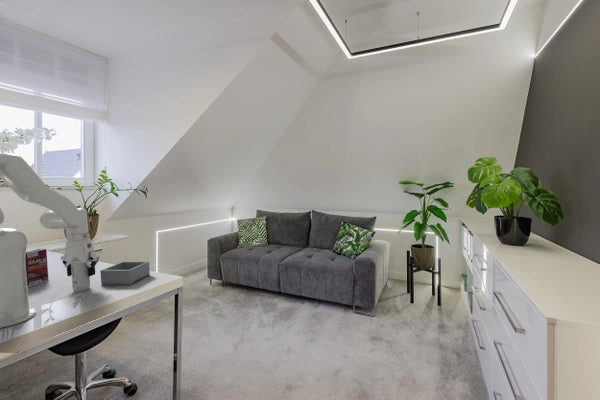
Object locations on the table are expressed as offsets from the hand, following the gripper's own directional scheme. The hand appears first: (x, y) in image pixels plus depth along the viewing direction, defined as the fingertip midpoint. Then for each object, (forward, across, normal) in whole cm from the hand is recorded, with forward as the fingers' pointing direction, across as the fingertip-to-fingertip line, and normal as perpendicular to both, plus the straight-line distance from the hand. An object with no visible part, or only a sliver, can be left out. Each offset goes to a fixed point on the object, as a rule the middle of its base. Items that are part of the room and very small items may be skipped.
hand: (81, 275), depth 122 cm
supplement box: (+7, +29, -5) cm, 30 cm away
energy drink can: (+6, 0, 0) cm, 7 cm away
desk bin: (+6, -12, -12) cm, 18 cm away
